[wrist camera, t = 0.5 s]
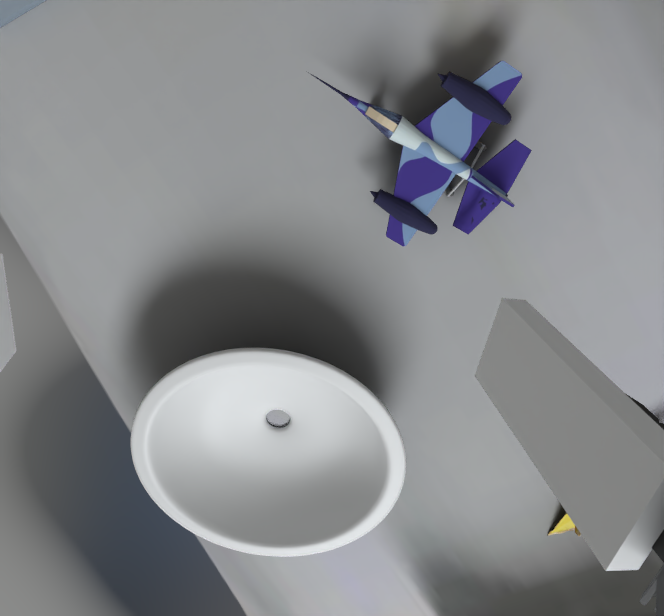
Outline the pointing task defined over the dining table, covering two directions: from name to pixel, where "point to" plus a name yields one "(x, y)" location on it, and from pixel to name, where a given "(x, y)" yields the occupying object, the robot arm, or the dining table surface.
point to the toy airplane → (448, 153)
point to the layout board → (15, 9)
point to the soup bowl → (268, 452)
